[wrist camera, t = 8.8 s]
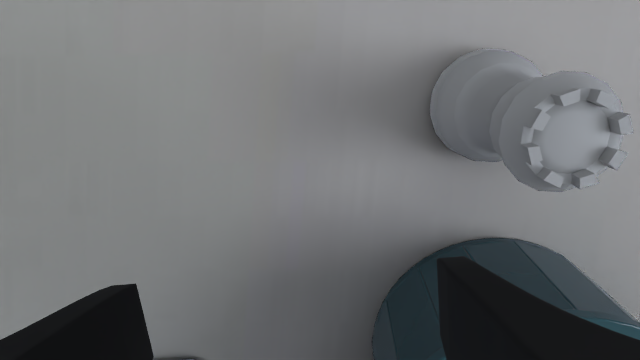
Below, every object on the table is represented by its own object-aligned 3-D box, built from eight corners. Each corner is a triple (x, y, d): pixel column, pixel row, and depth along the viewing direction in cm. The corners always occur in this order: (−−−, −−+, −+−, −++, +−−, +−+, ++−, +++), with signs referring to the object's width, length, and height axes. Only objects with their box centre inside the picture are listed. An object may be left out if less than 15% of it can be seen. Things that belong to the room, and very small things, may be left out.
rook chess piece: (537, 148, 19) (670, 213, 12) (432, 162, 20) (491, 235, 12) (535, 39, 18) (681, 31, 10) (422, 57, 18) (482, 61, 11)
